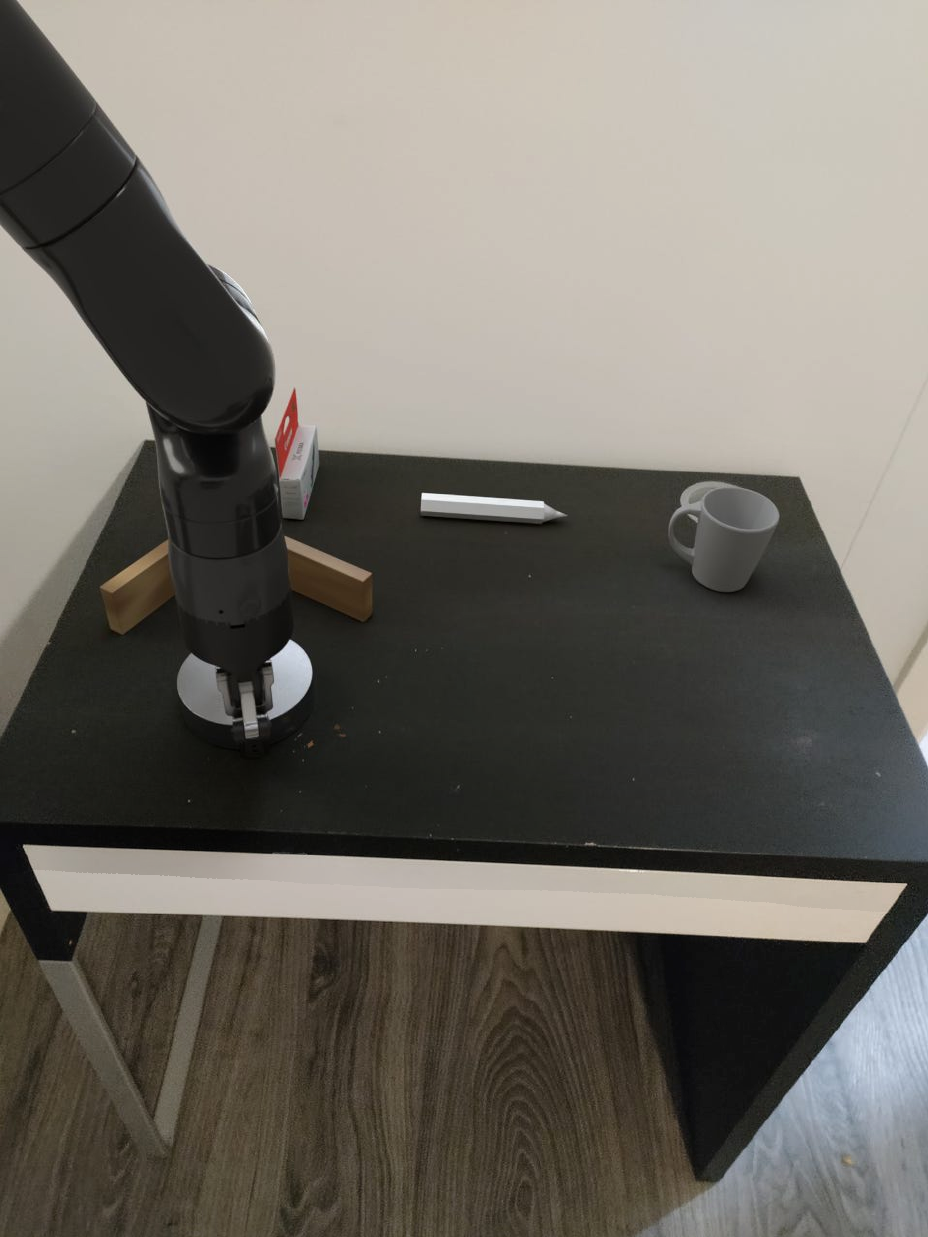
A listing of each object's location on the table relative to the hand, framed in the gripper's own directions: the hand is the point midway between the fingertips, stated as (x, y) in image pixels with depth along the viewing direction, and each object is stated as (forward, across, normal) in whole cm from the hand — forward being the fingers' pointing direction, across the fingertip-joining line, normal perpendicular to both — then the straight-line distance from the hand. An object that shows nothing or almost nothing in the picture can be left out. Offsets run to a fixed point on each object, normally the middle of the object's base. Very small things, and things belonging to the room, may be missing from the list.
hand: (255, 751), depth 73 cm
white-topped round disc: (+2, -7, 0) cm, 7 cm away
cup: (+2, -16, +47) cm, 50 cm away
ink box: (+2, -38, +8) cm, 39 cm away
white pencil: (+2, -29, +28) cm, 40 cm away
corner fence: (+1, -17, 0) cm, 17 cm away
